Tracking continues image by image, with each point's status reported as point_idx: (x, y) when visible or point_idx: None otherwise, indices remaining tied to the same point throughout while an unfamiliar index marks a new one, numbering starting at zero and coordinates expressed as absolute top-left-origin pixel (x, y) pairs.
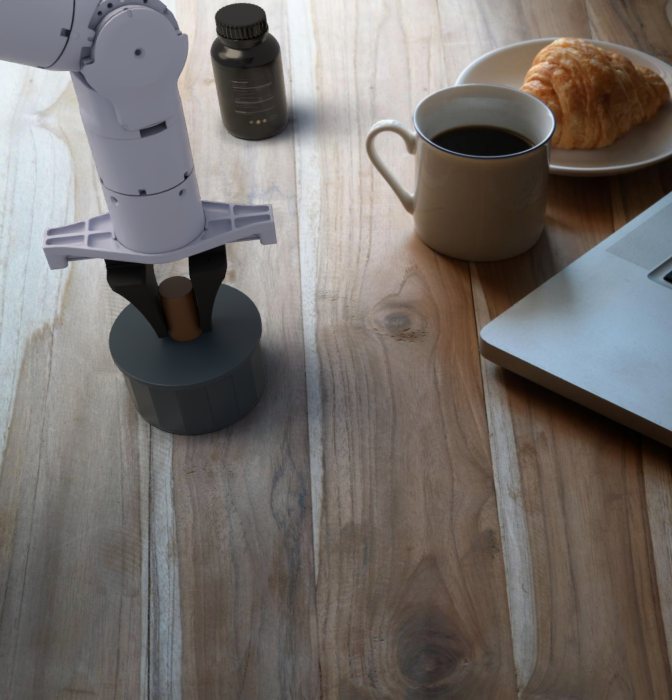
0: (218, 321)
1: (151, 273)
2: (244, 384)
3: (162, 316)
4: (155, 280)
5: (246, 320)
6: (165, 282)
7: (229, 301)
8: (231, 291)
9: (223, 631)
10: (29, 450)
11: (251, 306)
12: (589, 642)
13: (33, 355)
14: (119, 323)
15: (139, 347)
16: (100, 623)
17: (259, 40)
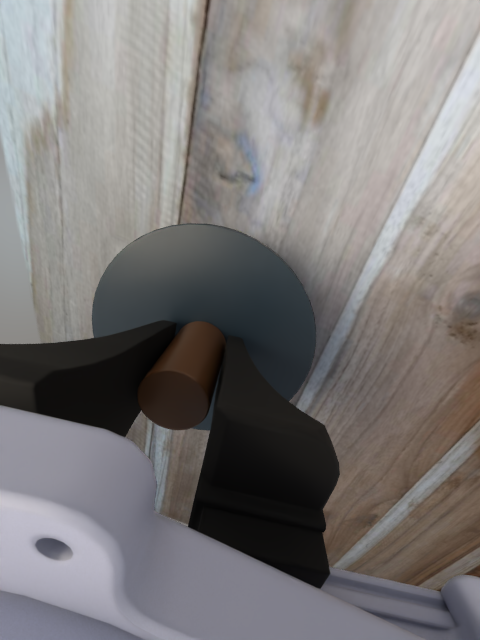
0: (250, 347)
1: (112, 402)
2: None
3: None
4: (137, 354)
5: (290, 360)
6: (154, 381)
7: (280, 313)
8: (292, 290)
9: (188, 499)
10: (54, 319)
11: (308, 337)
12: (377, 574)
13: (38, 176)
14: (106, 290)
15: None
16: None
17: None
